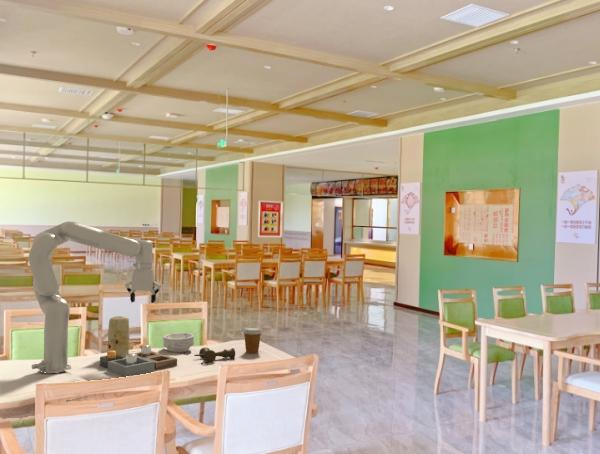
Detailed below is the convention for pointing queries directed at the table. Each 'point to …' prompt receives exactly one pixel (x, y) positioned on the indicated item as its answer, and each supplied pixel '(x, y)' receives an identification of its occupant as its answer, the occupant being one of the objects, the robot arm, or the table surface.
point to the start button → (111, 354)
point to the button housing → (105, 360)
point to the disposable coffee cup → (252, 339)
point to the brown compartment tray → (160, 360)
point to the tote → (131, 367)
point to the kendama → (215, 354)
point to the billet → (131, 359)
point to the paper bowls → (178, 342)
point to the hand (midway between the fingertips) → (142, 302)
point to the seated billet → (145, 350)
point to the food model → (119, 335)
